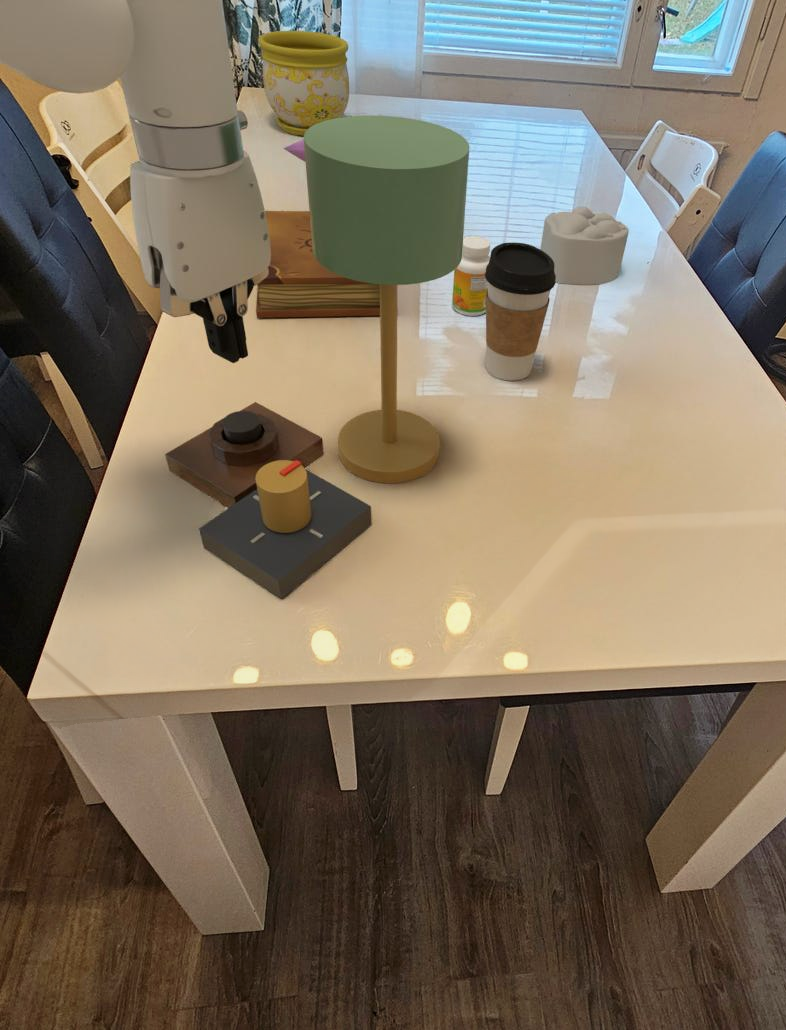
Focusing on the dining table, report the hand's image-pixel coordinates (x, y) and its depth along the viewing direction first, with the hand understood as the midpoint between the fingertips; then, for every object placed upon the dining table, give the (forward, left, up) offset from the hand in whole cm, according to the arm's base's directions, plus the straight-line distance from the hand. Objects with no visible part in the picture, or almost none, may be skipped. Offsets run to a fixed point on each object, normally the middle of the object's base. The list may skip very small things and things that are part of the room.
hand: (229, 354), depth 65 cm
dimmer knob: (-5, -11, -10) cm, 16 cm away
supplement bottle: (+44, +2, -13) cm, 46 cm away
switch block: (0, 0, -13) cm, 13 cm away
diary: (+36, +23, -13) cm, 45 cm away
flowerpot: (+87, +75, -13) cm, 116 cm away
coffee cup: (+34, -11, -13) cm, 38 cm away
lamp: (+11, -10, -13) cm, 20 cm away
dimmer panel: (-5, -11, -13) cm, 18 cm away
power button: (0, 0, -9) cm, 9 cm away
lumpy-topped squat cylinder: (+67, -4, -13) cm, 68 cm away
